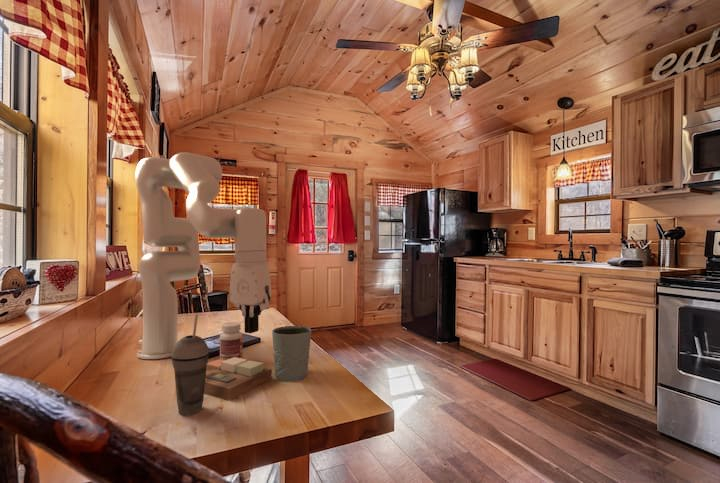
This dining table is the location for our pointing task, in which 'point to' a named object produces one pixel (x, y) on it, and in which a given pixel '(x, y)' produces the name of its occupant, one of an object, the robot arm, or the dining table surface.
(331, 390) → the dining table surface
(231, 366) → the key cream
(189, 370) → the beverage cup
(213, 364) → the key terracotta
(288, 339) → the grey green cup
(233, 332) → the pill bottle
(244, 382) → the keypad board
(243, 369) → the key sage
